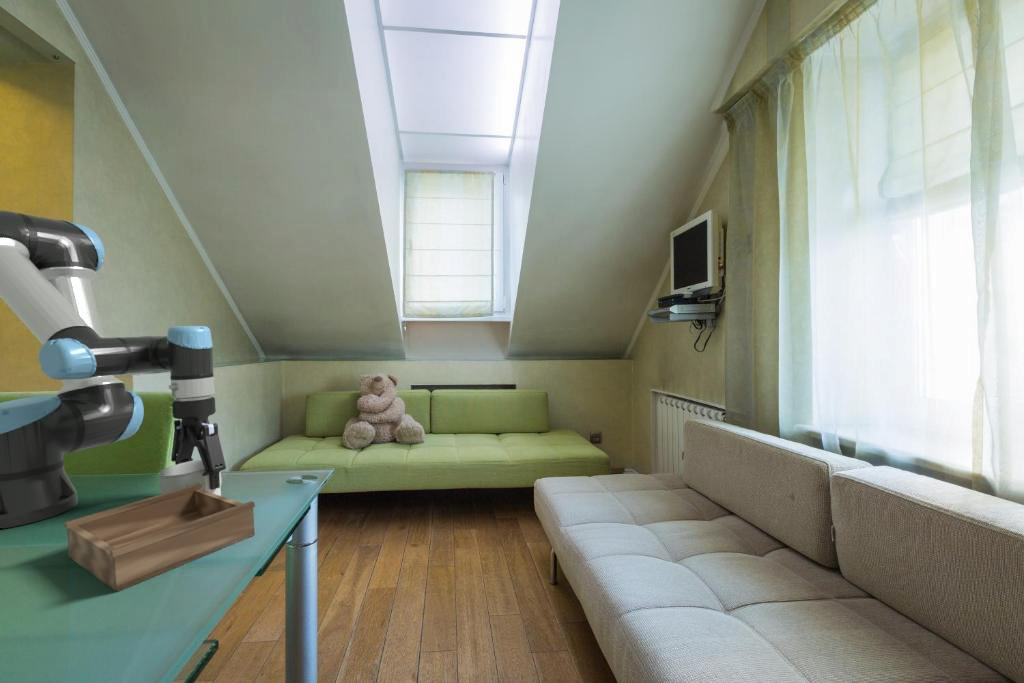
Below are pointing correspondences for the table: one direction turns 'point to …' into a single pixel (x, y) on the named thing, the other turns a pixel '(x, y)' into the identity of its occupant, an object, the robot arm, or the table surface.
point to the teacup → (182, 476)
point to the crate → (156, 534)
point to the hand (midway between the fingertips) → (199, 498)
